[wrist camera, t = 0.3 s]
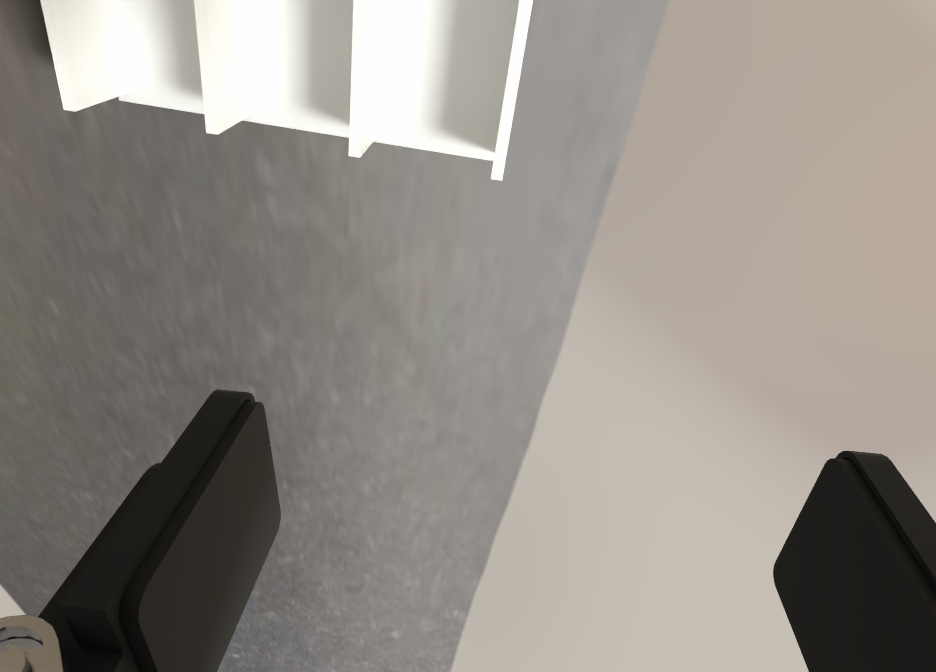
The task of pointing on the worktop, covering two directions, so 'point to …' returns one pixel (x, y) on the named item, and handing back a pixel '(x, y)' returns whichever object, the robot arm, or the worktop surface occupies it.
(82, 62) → the shelf rack
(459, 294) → the worktop surface
